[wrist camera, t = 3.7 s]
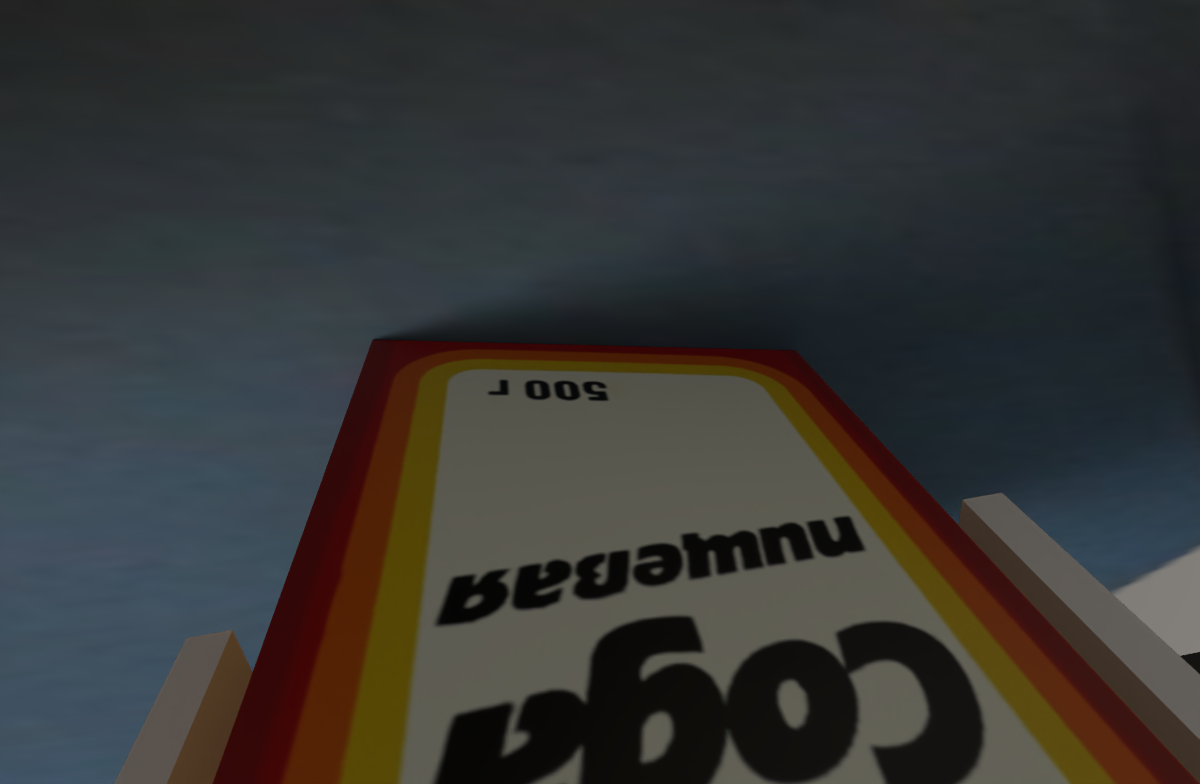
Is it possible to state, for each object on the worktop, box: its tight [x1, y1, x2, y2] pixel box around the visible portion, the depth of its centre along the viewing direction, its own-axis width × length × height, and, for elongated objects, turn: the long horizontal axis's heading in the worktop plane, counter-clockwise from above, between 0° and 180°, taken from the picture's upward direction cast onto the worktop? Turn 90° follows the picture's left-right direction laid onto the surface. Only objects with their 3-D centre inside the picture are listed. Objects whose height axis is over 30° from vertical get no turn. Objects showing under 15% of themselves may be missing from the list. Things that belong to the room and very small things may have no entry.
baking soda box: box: [213, 340, 1199, 784], centre depth 10 cm, size 10×6×16 cm
